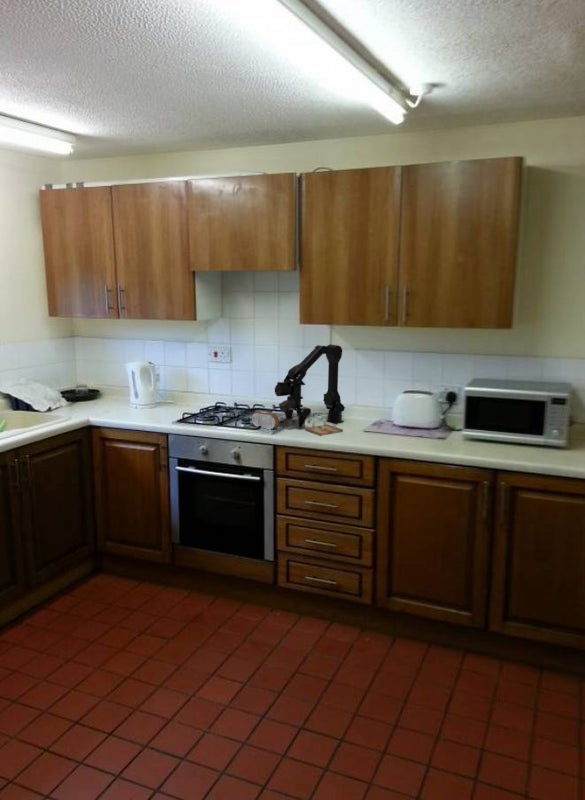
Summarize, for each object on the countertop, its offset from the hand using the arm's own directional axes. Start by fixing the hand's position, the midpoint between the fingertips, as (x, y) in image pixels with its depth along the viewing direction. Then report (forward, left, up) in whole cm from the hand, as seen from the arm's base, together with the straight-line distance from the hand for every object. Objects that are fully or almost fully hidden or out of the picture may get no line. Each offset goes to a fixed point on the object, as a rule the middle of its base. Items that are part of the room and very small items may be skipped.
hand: (294, 425), depth 316 cm
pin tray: (-8, +13, -1) cm, 15 cm away
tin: (+13, -7, -1) cm, 15 cm away
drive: (0, 0, -1) cm, 1 cm away
